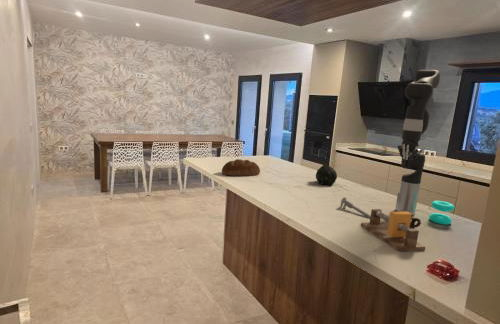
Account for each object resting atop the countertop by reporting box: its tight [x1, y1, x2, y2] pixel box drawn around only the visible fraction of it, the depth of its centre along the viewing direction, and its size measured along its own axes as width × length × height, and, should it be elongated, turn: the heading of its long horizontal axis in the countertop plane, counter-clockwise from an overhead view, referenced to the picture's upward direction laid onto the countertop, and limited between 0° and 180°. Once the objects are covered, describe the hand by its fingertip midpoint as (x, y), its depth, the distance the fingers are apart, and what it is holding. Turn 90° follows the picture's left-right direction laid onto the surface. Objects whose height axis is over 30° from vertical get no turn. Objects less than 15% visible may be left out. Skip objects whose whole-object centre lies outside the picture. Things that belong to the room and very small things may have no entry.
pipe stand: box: [360, 208, 426, 253], centre depth 136 cm, size 26×12×8 cm, turn 14°
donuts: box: [428, 200, 455, 226], centre depth 160 cm, size 10×10×10 cm
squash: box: [315, 163, 338, 186], centre depth 223 cm, size 14×15×15 cm
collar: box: [387, 211, 413, 237], centre depth 132 cm, size 3×8×10 cm, turn 104°
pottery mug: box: [410, 215, 422, 229], centre depth 149 cm, size 12×10×8 cm
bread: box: [221, 158, 261, 177], centre depth 234 cm, size 16×29×11 cm, turn 112°
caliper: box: [340, 196, 371, 219], centre depth 165 cm, size 20×1×6 cm, turn 35°
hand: (405, 167), depth 143 cm, fingers closed
